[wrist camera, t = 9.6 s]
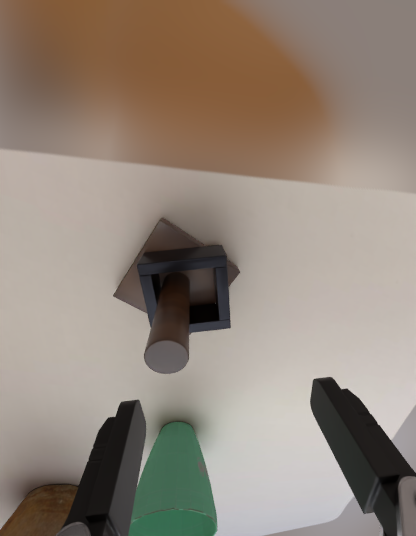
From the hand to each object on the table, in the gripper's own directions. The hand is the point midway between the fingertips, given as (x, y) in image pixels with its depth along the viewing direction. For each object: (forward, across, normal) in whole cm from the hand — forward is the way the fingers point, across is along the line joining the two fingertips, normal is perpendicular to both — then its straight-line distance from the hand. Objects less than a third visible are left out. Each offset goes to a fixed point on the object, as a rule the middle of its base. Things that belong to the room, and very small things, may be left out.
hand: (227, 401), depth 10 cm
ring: (+13, +2, 0) cm, 13 cm away
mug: (+14, +6, +27) cm, 31 cm away
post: (+14, +3, 0) cm, 14 cm away
